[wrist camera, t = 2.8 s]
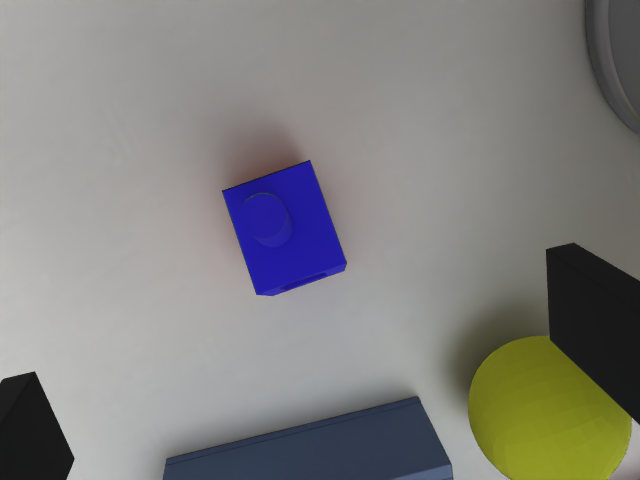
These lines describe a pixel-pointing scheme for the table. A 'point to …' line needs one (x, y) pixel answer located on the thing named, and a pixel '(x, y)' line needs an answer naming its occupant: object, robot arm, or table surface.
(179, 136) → the table surface
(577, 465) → the ornament
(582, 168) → the table surface
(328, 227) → the toy building block
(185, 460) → the blue bin
